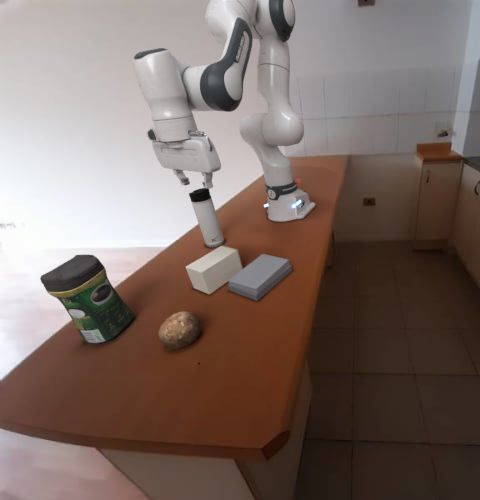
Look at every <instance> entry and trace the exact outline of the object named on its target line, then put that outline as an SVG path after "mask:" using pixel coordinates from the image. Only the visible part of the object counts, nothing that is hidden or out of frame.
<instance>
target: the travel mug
mask: <svg viewBox="0 0 480 500" xmlns="http://www.w3.org/2000/svg"><path fill="white" fill-rule="evenodd" d="M188 196H189V199H190V202H191V206H192V208H193V211H194V214H195V217H196V221H197V223H198V226H199V228H200V230H201V235H202V237H203V240H204V244H205V246H206V247H207V248H218V247H220V246H223V244H224V243H225V238H224V234H223V231H222V228H221V225H220V221H219V218H218V215H217V211H216V208H215V205H214V202H213V201H214V200H213V199H212V195H211V192H210V189H206V188H204V187H202V188H197V189H195V190H193V191H191V192H189V193H188Z"/></svg>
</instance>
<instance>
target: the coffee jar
mask: <svg viewBox="0 0 480 500" xmlns="http://www.w3.org/2000/svg"><path fill="white" fill-rule="evenodd" d="M107 274H108V273H107V270H106V267H105V266H104V264H103V263H102V262H101V261H100V259H99V258H98V257H97V256H96V255H94V254H76V255H74V257H72V258H70V259H68V260H67V261H65V262H63V263H62V264H60V265H58V266H57V267H55V268H53V269H52V270H50V271H48V272H46V273H43V274H42V275H40V283H41V284H42V285H43V287H44V289H45V291H46V292H47V293H48V294H49V295H50V296H51V297H54V298H55V299H57V300H58V301H59V302H60V303H61V304H62V306H63V307H64V309H65V310H66V312H67V313H68V316H69V317H70V318H71V320H72V323H73V324H74V326H75V328H76V329H77V331H78V334H79V335H80V336H81V338H82V340H83V341H85V342H86V343H88V344H102V343H106V342H109V341H112V340H113V339H115V338H116V337H117V336H118V335H120V334H121V333H123V331H124V330H125V329H126V328H127V327H128V326H129V325H130V323H131V322H132V321H133V319H134V312H133V311H132V310H131V308H130V306H128V305H127V304H126V302H125V301H124V299H122V297H121V296H120V295H119V293H118V291H116V289H115V288H114V286H113V285H112V284H111V282H110V280H109V278H108V275H107Z"/></svg>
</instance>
